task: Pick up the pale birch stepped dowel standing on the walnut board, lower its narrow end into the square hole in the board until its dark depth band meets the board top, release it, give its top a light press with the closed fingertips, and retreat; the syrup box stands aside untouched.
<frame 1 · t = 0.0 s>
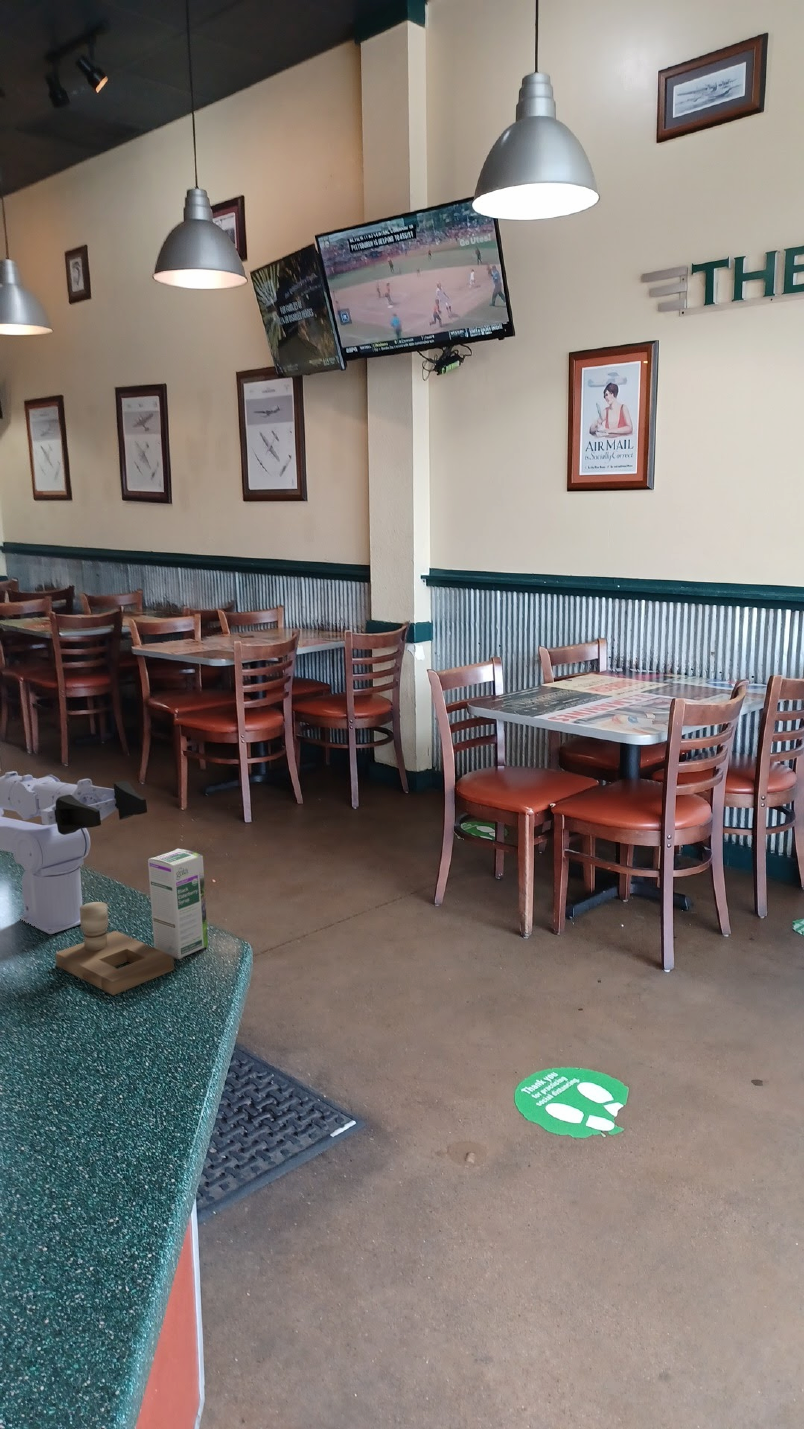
hand: (121, 812, 143), 22 cm above the countertop, tool horizontal, fingers open, 7 cm apart
board: (115, 967, 143), on the countertop
peg: (96, 946, 145), point 2 cm above the countertop, touching board
syrup box: (180, 949, 149), on the countertop
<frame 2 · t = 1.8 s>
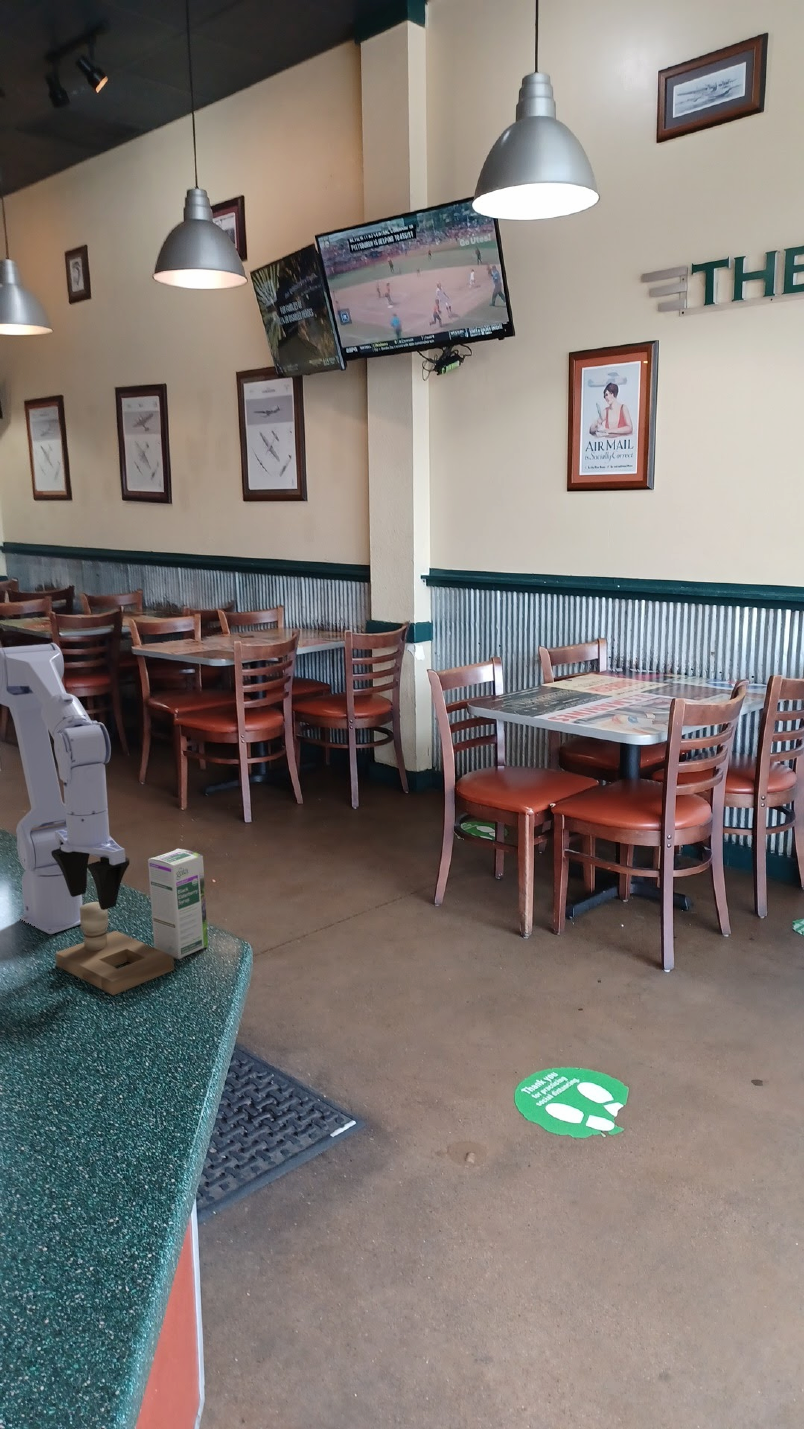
hand: (93, 901, 144), 9 cm above the countertop, tool pointing down, fingers open, 7 cm apart
nothing on the countertop moved.
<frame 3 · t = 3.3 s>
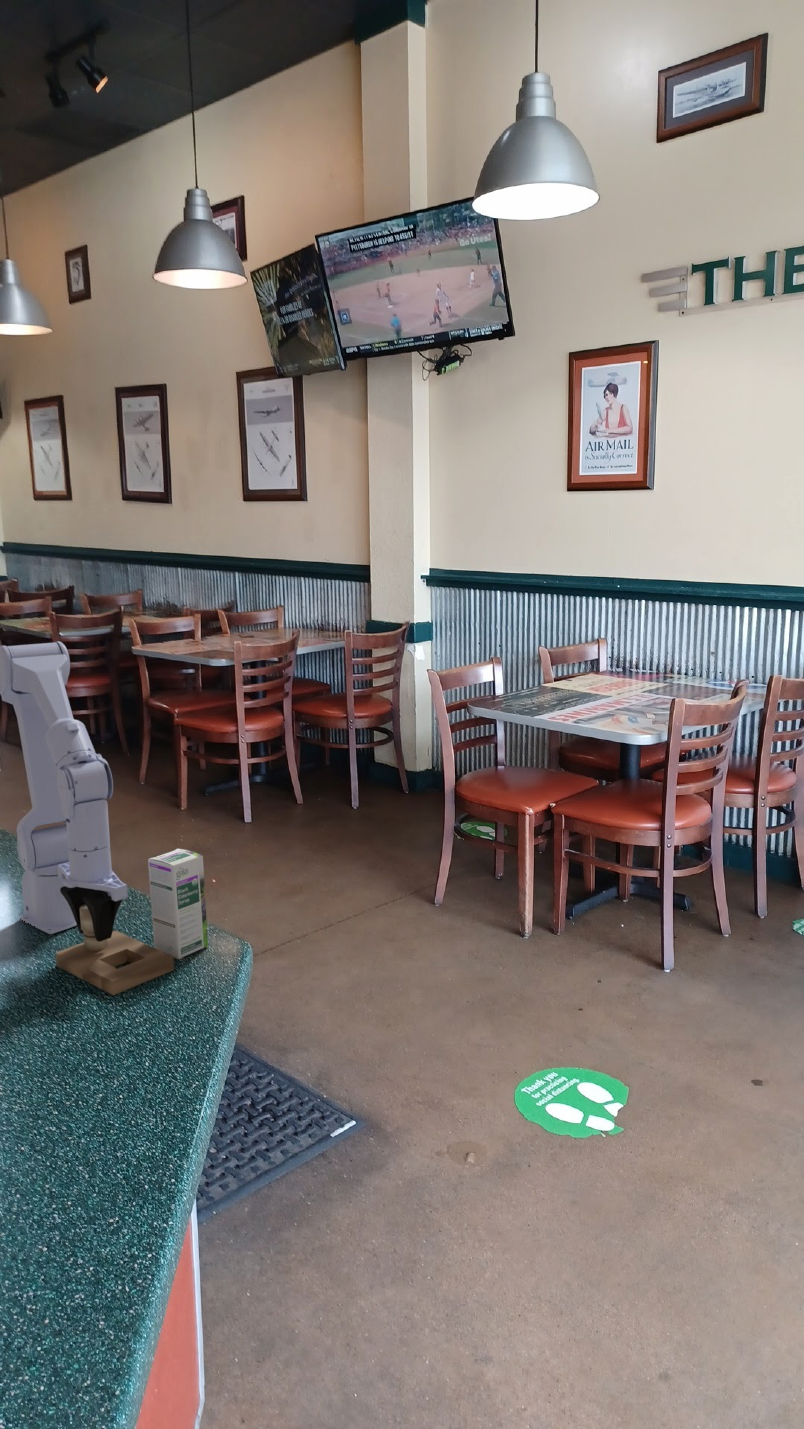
hand: (95, 935, 145), 4 cm above the countertop, tool pointing down, fingers closed on peg, 4 cm apart
peg: (96, 946, 145), point 2 cm above the countertop, touching board, gripper
everything else where it was.
when the fingers open (3 cm above the countertop, at t = 6.6 s): peg stays where it is, resting in board.
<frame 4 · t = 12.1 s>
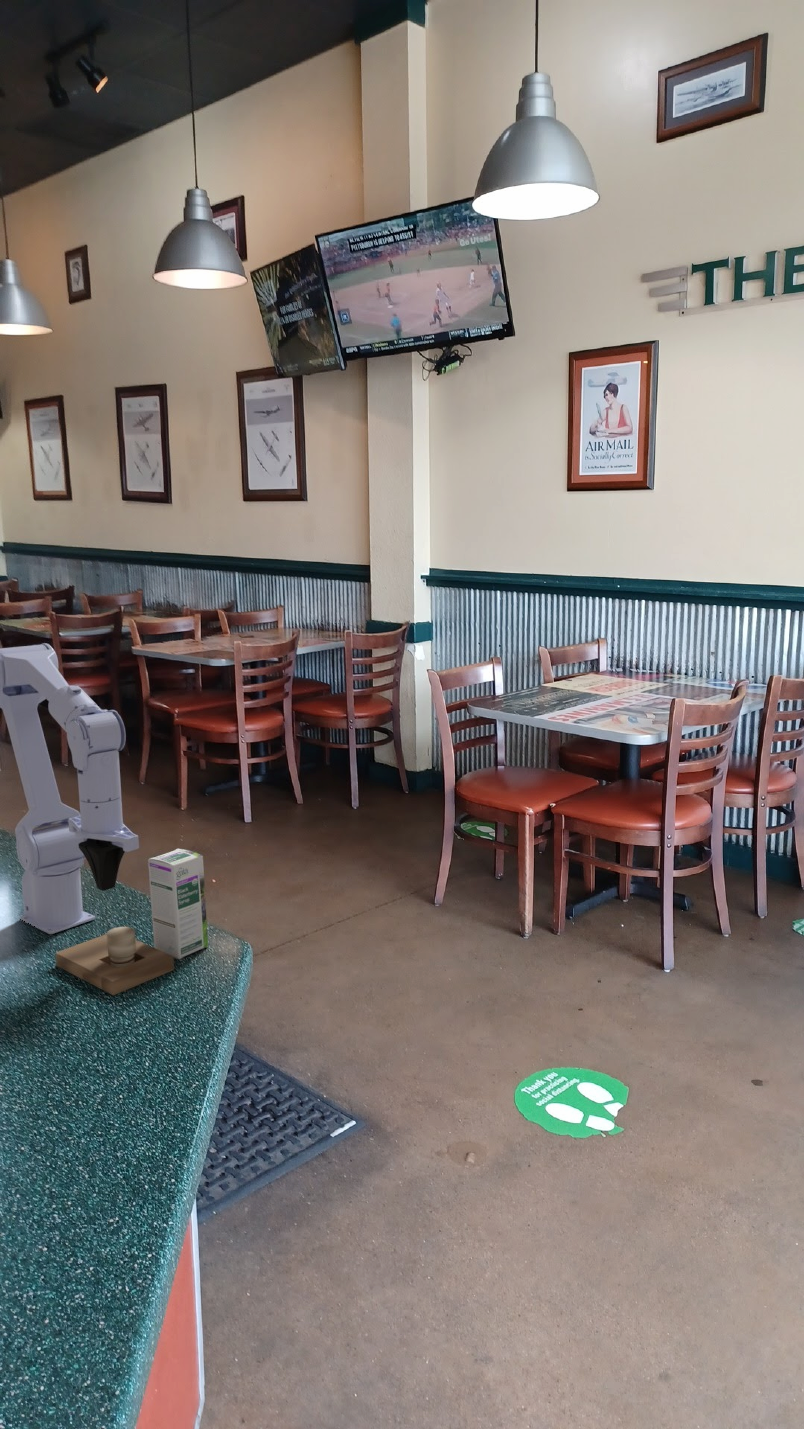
hand: (106, 888, 145), 10 cm above the countertop, tool pointing down, fingers closed
peg: (123, 972, 141), resting in board
everything else where it was.
at the end: peg 0.1 cm from the target spot on the board, point 0.0 cm above the board's base; peg tilted 0°; the gripper is holding nothing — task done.
